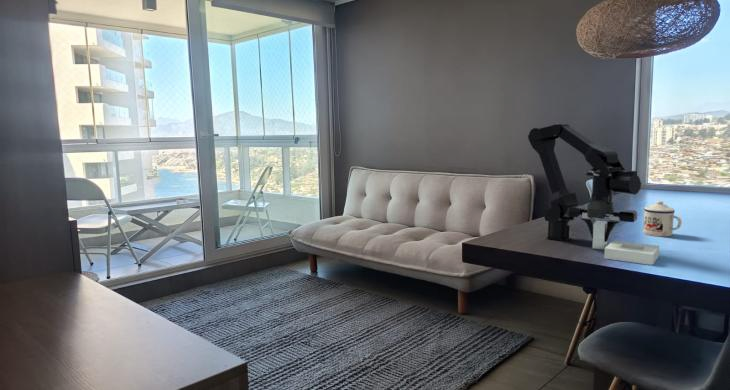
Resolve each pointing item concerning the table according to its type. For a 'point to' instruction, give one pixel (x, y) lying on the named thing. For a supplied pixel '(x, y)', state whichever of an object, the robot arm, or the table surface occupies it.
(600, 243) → the keyed peg
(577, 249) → the table surface
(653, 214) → the teacup with lid
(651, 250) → the hub block
